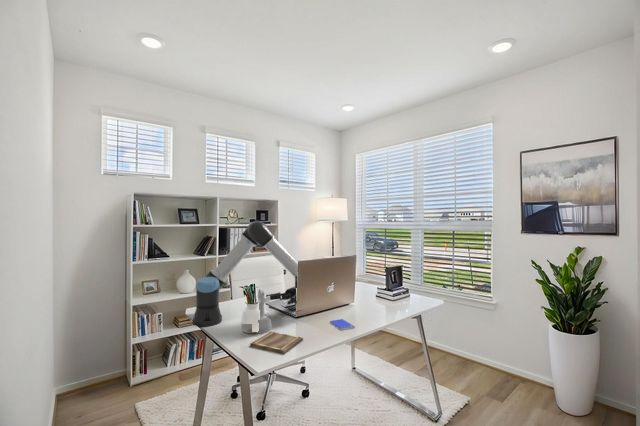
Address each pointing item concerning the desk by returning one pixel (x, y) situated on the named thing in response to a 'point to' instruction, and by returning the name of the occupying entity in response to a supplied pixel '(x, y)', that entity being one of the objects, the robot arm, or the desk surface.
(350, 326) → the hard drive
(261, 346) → the walnut board
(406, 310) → the desk surface
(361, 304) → the desk surface
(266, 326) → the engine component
